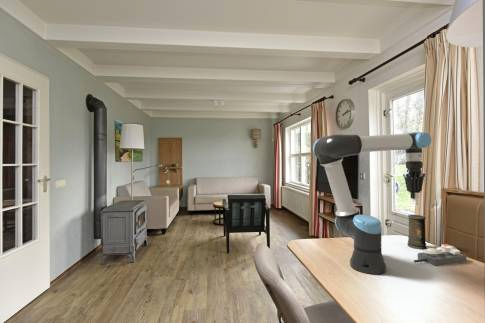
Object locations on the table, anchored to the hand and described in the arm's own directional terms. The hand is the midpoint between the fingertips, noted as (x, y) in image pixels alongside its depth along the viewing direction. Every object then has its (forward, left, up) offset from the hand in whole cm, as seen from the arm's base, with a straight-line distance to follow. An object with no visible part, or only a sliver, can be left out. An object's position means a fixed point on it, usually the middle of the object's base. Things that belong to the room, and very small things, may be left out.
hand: (414, 204), depth 135 cm
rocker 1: (-2, -11, -23) cm, 26 cm away
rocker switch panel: (+1, -11, -26) cm, 29 cm away
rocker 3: (+10, -11, -23) cm, 27 cm away
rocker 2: (+4, -12, -23) cm, 26 cm away
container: (+11, +8, -27) cm, 30 cm away
